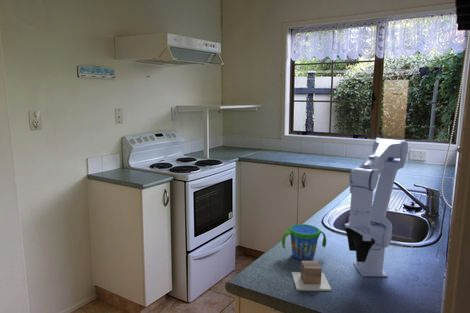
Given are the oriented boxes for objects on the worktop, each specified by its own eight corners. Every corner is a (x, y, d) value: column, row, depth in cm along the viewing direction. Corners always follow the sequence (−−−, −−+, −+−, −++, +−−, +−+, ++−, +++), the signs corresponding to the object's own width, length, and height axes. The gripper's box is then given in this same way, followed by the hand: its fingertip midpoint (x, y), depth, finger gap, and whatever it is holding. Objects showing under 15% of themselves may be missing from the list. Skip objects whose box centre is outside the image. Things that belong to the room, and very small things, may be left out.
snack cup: (321, 250, 134) (322, 223, 133) (329, 263, 124) (331, 234, 122) (278, 250, 134) (279, 223, 132) (283, 263, 123) (285, 234, 122)
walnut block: (300, 275, 113) (301, 260, 113) (316, 276, 114) (317, 260, 113) (303, 284, 108) (304, 268, 108) (320, 284, 109) (321, 268, 108)
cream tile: (291, 273, 116) (291, 271, 116) (323, 274, 116) (323, 272, 116) (296, 290, 106) (296, 288, 106) (331, 290, 106) (331, 289, 106)
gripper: (340, 202, 111) (336, 245, 113) (353, 217, 97) (349, 266, 99) (363, 203, 111) (359, 246, 113) (380, 218, 97) (376, 267, 99)
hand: (356, 255), depth 106 cm, fingers open, 7 cm apart
